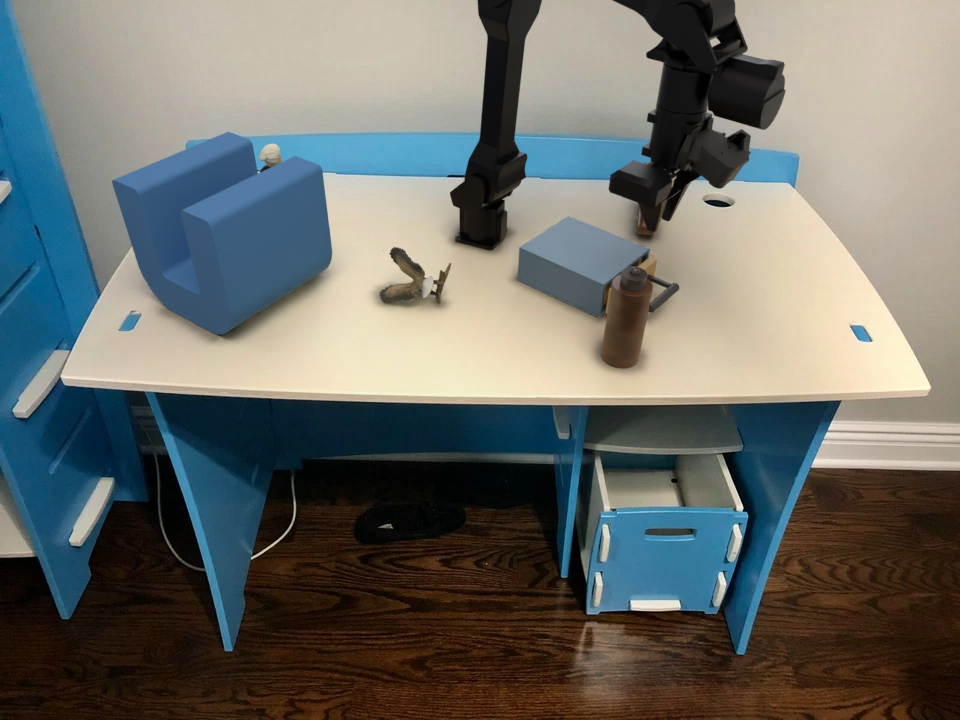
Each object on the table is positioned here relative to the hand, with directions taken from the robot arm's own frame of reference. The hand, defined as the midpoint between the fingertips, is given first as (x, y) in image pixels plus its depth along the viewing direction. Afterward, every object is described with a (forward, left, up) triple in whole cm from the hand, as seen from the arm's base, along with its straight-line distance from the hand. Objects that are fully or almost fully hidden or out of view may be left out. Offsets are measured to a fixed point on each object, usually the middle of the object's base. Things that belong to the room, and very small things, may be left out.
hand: (658, 225), depth 97 cm
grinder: (0, -11, -13) cm, 17 cm away
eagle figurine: (-30, -11, -13) cm, 34 cm away
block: (-52, -20, -13) cm, 57 cm away
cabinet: (-10, +3, -13) cm, 17 cm away
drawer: (-6, +2, -12) cm, 14 cm away
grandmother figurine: (-59, -1, -13) cm, 60 cm away
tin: (-6, +24, -13) cm, 28 cm away
